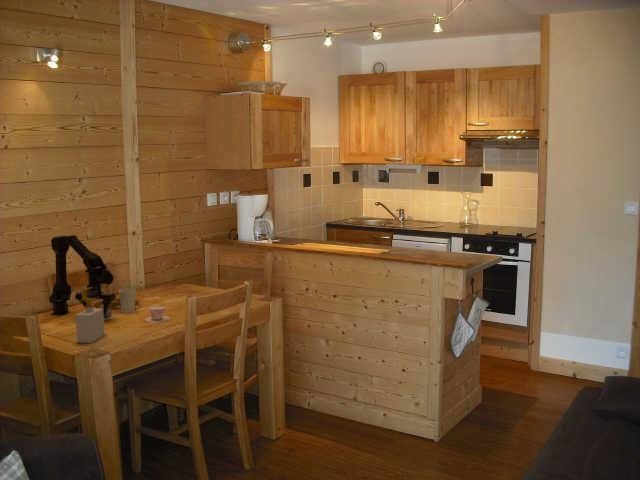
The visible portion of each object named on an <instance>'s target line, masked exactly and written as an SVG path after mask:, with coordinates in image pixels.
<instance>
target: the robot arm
mask: <svg viewBox="0 0 640 480" xmlns="http://www.w3.org/2000/svg"><path fill="white" fill-rule="evenodd" d="M50 244H51V245H50V246H51V250H52V251H53V252H54V255H55V283H54V285H53V287H52V293H51V295H50V296H49V297H48V301H49V303H50V304H52V312H51V313H50V314H51V315H58V316H63V315H66V314H68V313H70V310H69V304H68V301H70V300H71V294H72V293H73V292H72V286H71V284H70V285H69V283H68V281H67V280H68V278H67V276H68V275H67V253H68V251H69V249H70V247H71V249H72V250H74V251H75V253H76V254H77V255H78V256H79V257H80V258H81V259H82V264H83V265H84V266H85V268H87V269H86V270H85V271H84V273H87V275H88V276H87V277H88V279H87V280H88V284H87V285H86V289H87V288H90V287H92V288H90V289H87V298H90V299H102V301H101V303H102V304H103V307H104V314H106V313H107V310H108V311H109V307H110V306H111V305H110V304H111V303H112V302H113V301H114V300H116V299H117V296H116V293H114V292H107V293H104V291H103V290H102V286H104V285H111V284H112V283H113V281H114V274H113V273H112V272H111V271H110V269H108V268H107V266H106V264H105V262H104V261H103V259H102V257H101V256H100V255H99V254H98V253H96V252H93V251H91V250H89V249H88V247H86V246H85V244H83V242H82V241H80V240H79V238H78V236H77V235H75V234H70V235H59V236H54V237H52V238H51V239H50ZM103 284H104V285H103ZM74 296H75V300H76V301H78V302H80V303H81V304H82V306H83V307H84V309H85V306H86V305H87V303H86V301H84V300H83V299H82V291H80V292H76V294H75V295H74Z"/></svg>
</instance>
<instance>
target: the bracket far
mask: <svg viewBox="0 0 640 480" xmlns="http://www.w3.org/2000/svg"><path fill="white" fill-rule="evenodd" d="M111 315H112V310H111V309H108V311H107V313H106V314H105V316H104V318H109V317H111Z"/></svg>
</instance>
